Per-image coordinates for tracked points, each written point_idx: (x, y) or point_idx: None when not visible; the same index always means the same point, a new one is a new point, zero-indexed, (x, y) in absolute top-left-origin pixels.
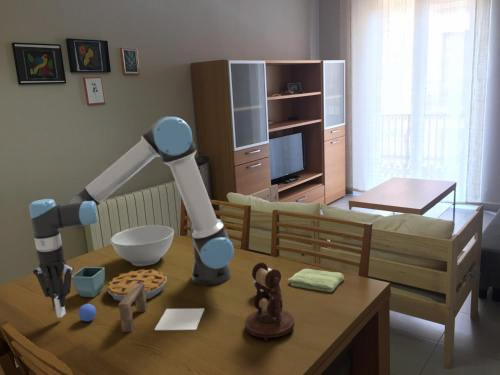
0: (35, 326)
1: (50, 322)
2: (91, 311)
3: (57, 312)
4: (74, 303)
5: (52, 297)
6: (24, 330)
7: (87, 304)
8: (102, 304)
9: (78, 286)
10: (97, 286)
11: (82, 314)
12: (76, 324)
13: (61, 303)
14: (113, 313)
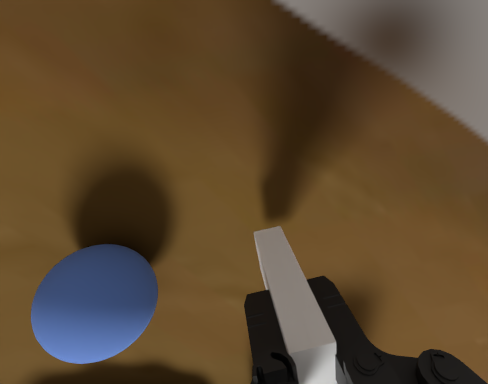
0: (377, 152)
1: (316, 202)
2: (31, 309)
3: (281, 248)
4: None
5: (359, 360)
6: (420, 102)
7: (75, 358)
8: (173, 363)
9: None
10: None
11: (74, 270)
12: (152, 217)
13: (265, 317)
14: None
